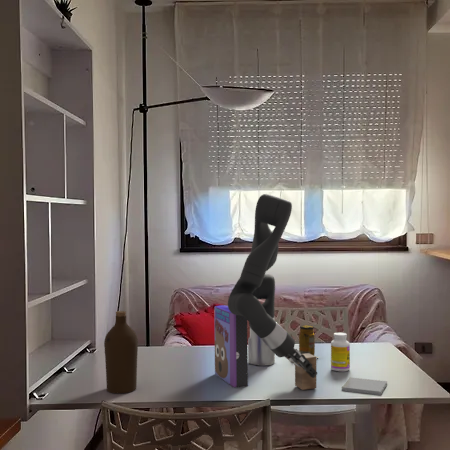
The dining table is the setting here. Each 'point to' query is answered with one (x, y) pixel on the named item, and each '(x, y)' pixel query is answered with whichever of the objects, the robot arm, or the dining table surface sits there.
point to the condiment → (307, 340)
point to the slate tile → (364, 386)
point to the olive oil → (121, 356)
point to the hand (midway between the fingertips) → (310, 373)
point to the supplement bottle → (340, 353)
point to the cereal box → (231, 347)
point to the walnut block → (305, 374)
